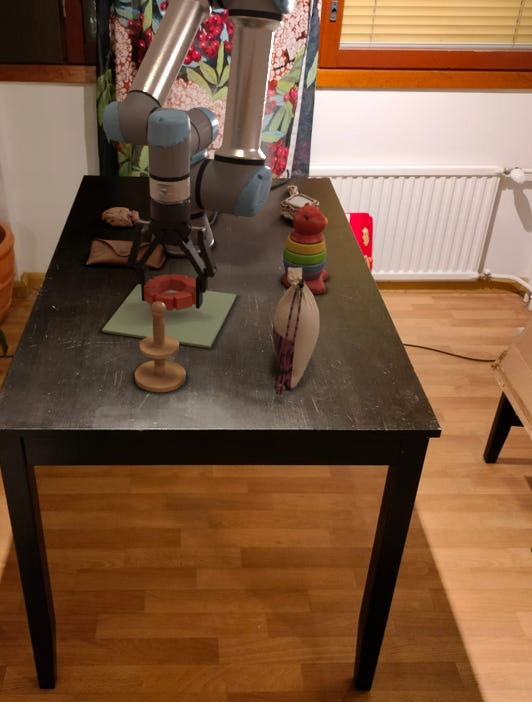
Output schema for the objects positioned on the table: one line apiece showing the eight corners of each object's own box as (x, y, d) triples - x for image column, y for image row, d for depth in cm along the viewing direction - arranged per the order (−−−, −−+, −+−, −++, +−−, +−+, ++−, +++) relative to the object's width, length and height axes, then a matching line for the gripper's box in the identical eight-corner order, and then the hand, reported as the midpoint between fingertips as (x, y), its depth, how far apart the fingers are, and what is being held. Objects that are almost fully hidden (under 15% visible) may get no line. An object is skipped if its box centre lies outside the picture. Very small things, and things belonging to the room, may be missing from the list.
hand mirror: (312, 181, 209) (327, 209, 183) (306, 201, 212) (320, 231, 185) (277, 173, 208) (287, 200, 182) (272, 193, 211) (280, 222, 184)
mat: (139, 283, 158) (139, 281, 158) (236, 296, 153) (236, 294, 153) (102, 332, 140) (101, 329, 140) (210, 348, 135) (210, 346, 135)
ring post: (144, 361, 131) (141, 286, 123) (191, 368, 130) (191, 293, 121) (127, 387, 124) (123, 311, 116) (177, 396, 122) (175, 318, 114)
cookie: (110, 212, 194) (109, 202, 192) (146, 217, 191) (146, 206, 189) (94, 225, 186) (93, 214, 184) (132, 231, 183) (131, 220, 181)
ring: (155, 282, 150) (154, 271, 149) (204, 288, 148) (204, 277, 146) (138, 306, 141) (137, 294, 140) (190, 313, 139) (190, 301, 138)
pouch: (274, 328, 142) (281, 239, 132) (315, 331, 141) (325, 242, 131) (265, 401, 121) (272, 302, 111) (313, 406, 120) (325, 307, 110)
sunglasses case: (84, 264, 164) (85, 235, 164) (91, 267, 171) (92, 239, 171) (161, 268, 163) (162, 239, 163) (165, 271, 170) (166, 243, 170)
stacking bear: (325, 295, 154) (333, 217, 144) (278, 290, 156) (284, 213, 146) (328, 274, 163) (336, 199, 153) (284, 269, 165) (289, 195, 155)
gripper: (104, 198, 133) (112, 302, 145) (225, 211, 128) (222, 318, 140) (119, 185, 139) (125, 286, 151) (235, 197, 134) (231, 300, 146)
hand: (172, 301), depth 145 cm, fingers closed on ring, 11 cm apart
